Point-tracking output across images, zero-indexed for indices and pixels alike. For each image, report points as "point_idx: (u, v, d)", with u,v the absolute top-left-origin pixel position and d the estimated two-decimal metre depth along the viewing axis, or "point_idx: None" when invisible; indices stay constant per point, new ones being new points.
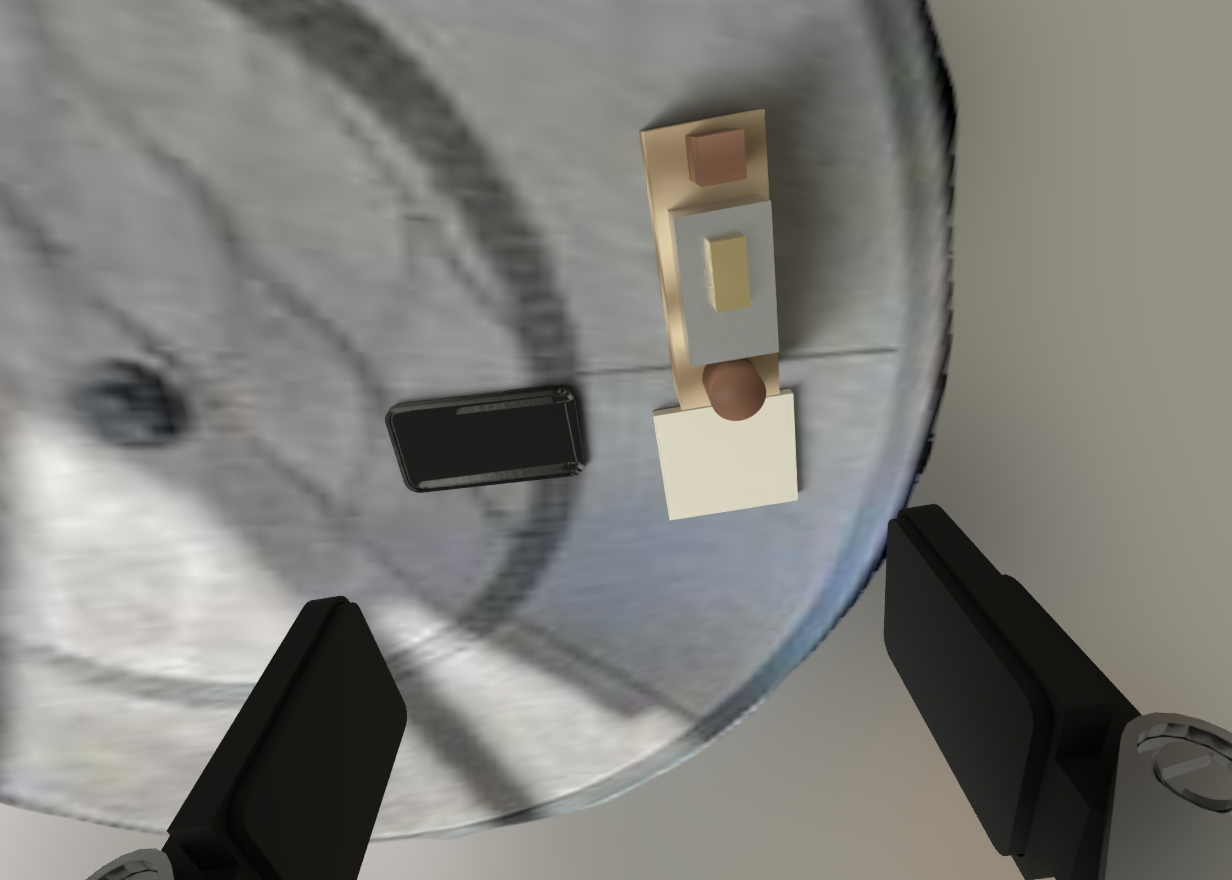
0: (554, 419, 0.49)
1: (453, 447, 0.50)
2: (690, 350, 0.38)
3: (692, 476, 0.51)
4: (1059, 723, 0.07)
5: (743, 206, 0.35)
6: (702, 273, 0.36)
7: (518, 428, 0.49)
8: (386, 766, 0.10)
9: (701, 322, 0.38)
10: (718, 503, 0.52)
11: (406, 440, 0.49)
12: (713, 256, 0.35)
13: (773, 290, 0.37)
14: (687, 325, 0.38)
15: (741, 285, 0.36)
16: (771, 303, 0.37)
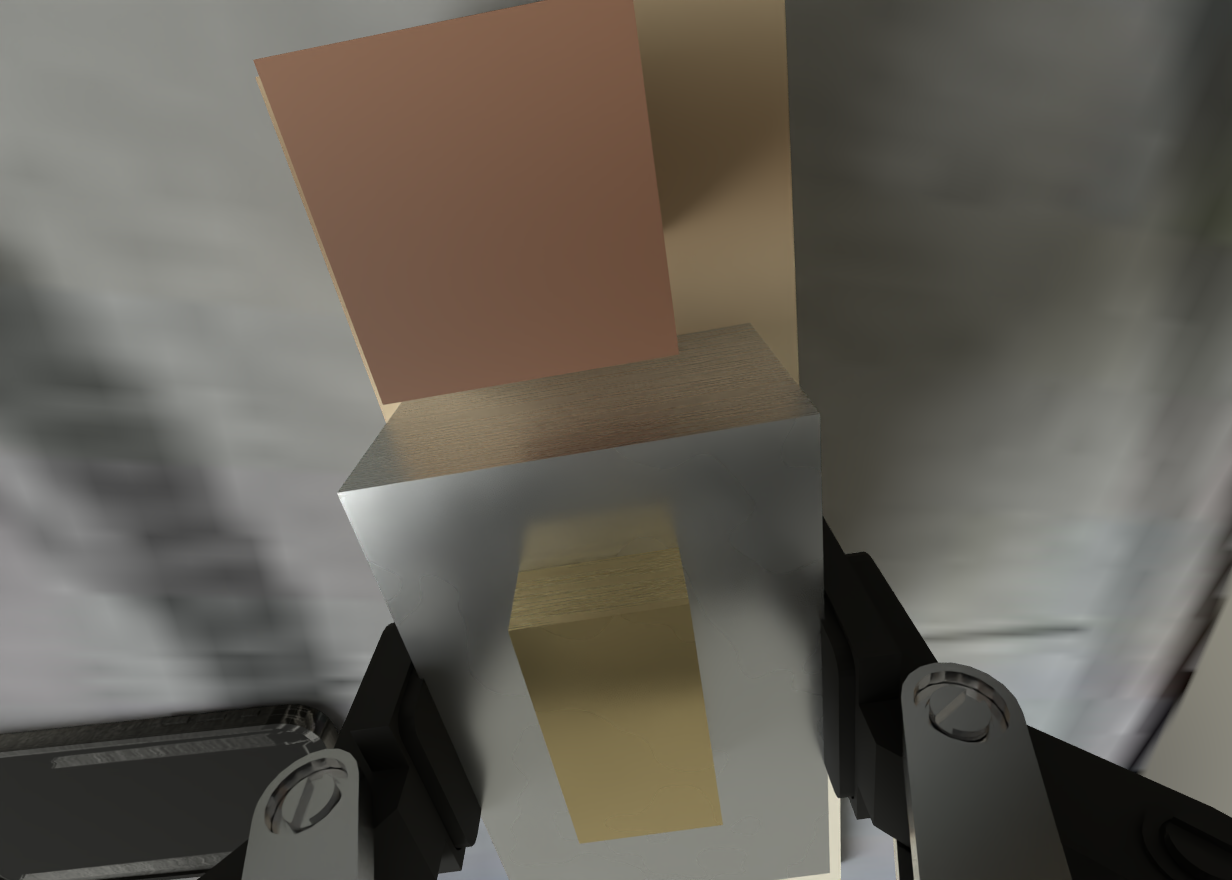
0: None
1: (71, 821, 0.22)
2: (512, 875, 0.11)
3: None
4: (858, 673, 0.08)
5: (680, 441, 0.07)
6: (517, 682, 0.08)
7: (209, 788, 0.22)
8: None
9: (538, 813, 0.10)
10: None
11: None
12: (535, 679, 0.07)
13: (817, 724, 0.09)
14: (487, 820, 0.10)
15: (679, 768, 0.08)
16: (807, 759, 0.09)
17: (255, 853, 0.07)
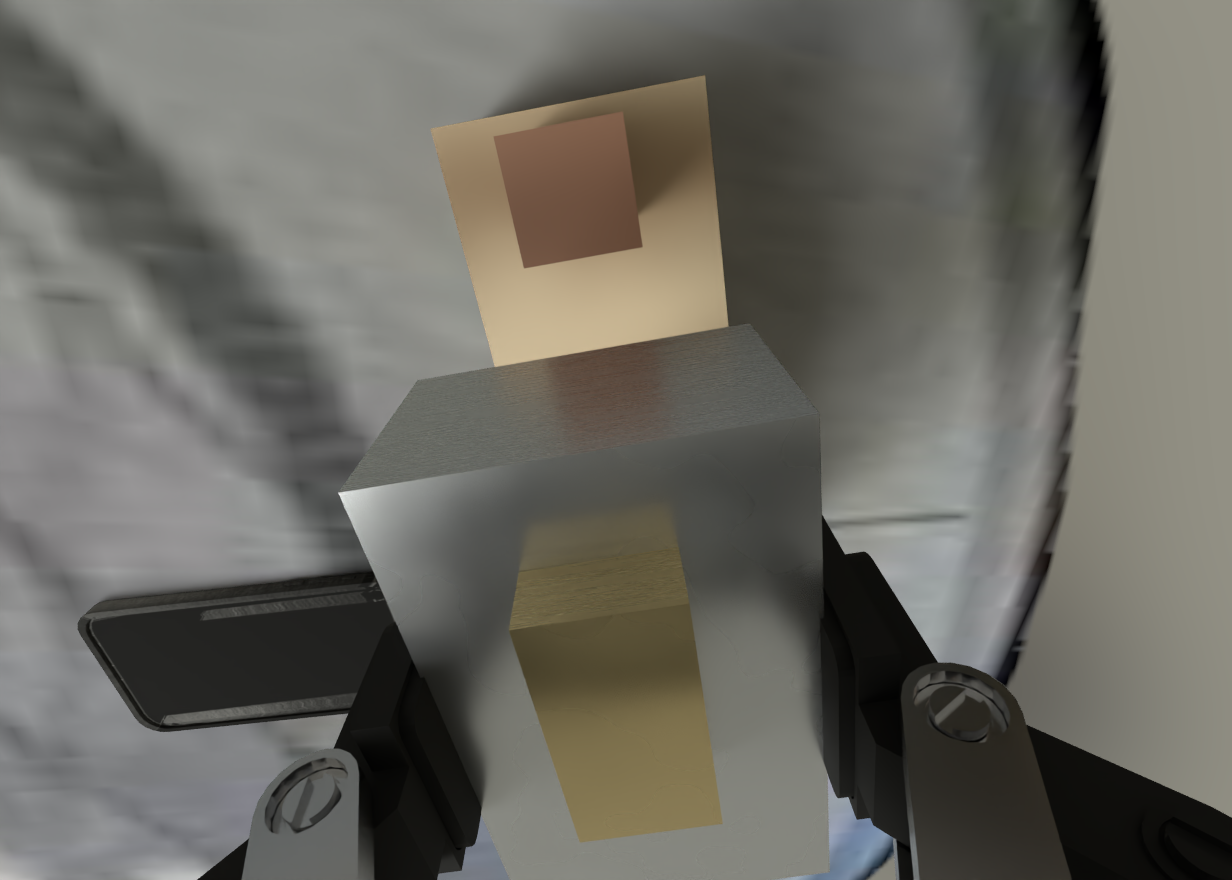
0: (373, 625, 0.28)
1: (207, 667, 0.29)
2: (512, 874, 0.11)
3: None
4: (858, 672, 0.08)
5: (680, 441, 0.07)
6: (517, 681, 0.09)
7: (314, 639, 0.29)
8: None
9: (539, 812, 0.10)
10: None
11: (125, 658, 0.29)
12: (535, 678, 0.07)
13: (816, 724, 0.09)
14: (487, 819, 0.10)
15: (679, 767, 0.08)
16: (807, 758, 0.09)
17: (255, 853, 0.07)
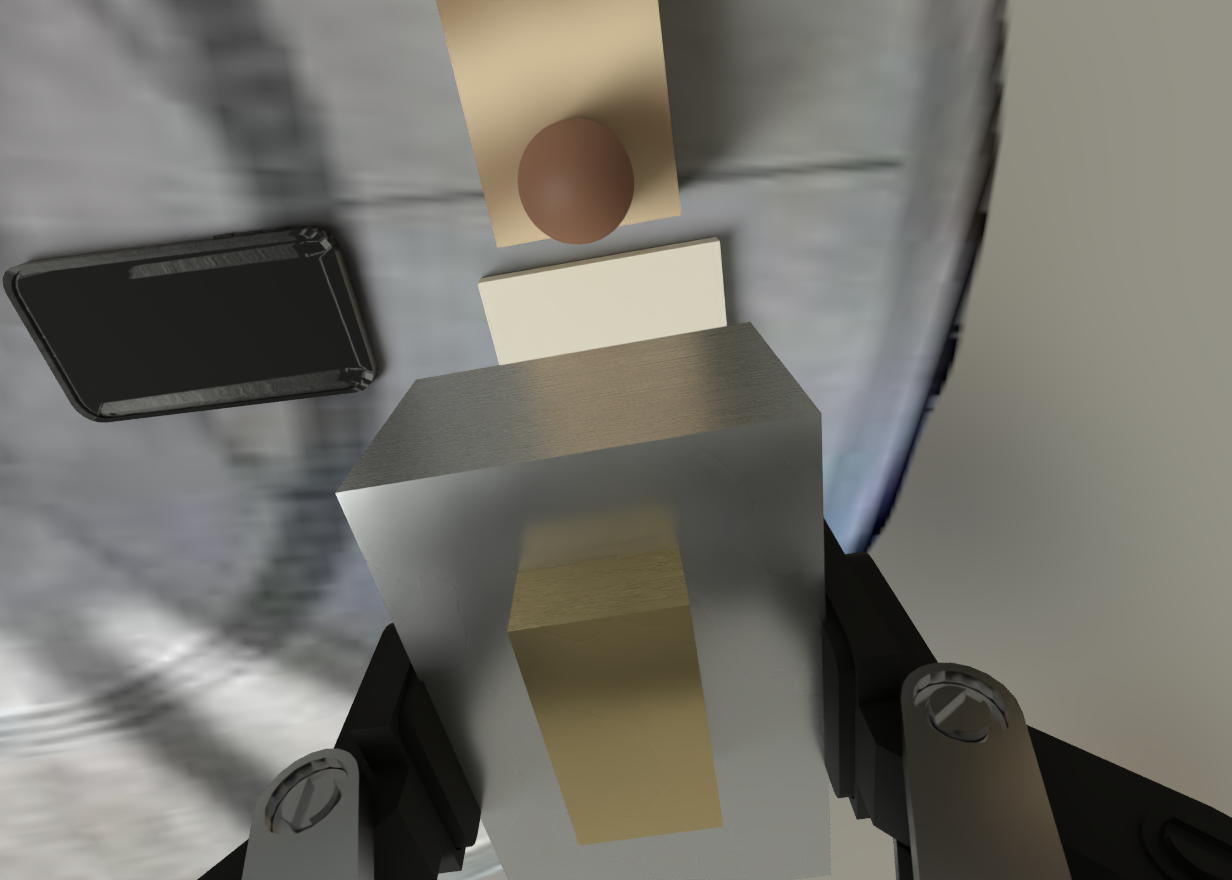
0: (307, 288, 0.28)
1: (141, 341, 0.29)
2: (511, 877, 0.11)
3: None
4: (858, 672, 0.08)
5: (680, 440, 0.07)
6: (516, 683, 0.08)
7: (247, 305, 0.28)
8: None
9: (539, 815, 0.10)
10: None
11: (55, 328, 0.29)
12: (534, 680, 0.07)
13: (818, 726, 0.09)
14: (486, 822, 0.10)
15: (679, 769, 0.08)
16: (808, 760, 0.09)
17: (255, 853, 0.07)
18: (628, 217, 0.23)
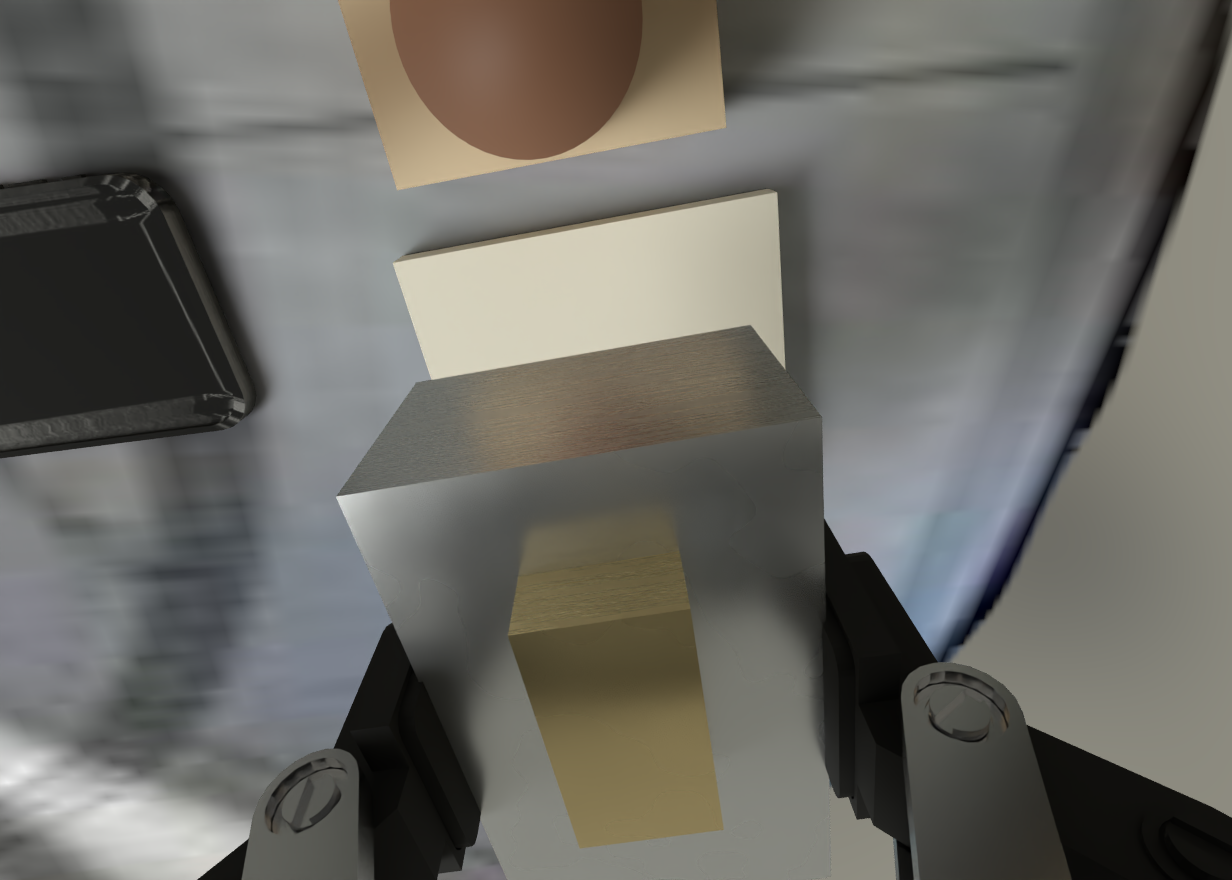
0: (127, 271, 0.18)
1: None
2: (512, 879, 0.11)
3: None
4: (858, 673, 0.08)
5: (680, 444, 0.07)
6: (517, 686, 0.08)
7: (38, 300, 0.18)
8: None
9: (538, 818, 0.10)
10: None
11: None
12: (535, 683, 0.07)
13: (818, 728, 0.09)
14: (486, 824, 0.10)
15: (680, 772, 0.08)
16: (808, 763, 0.09)
17: (255, 853, 0.07)
18: (630, 132, 0.13)
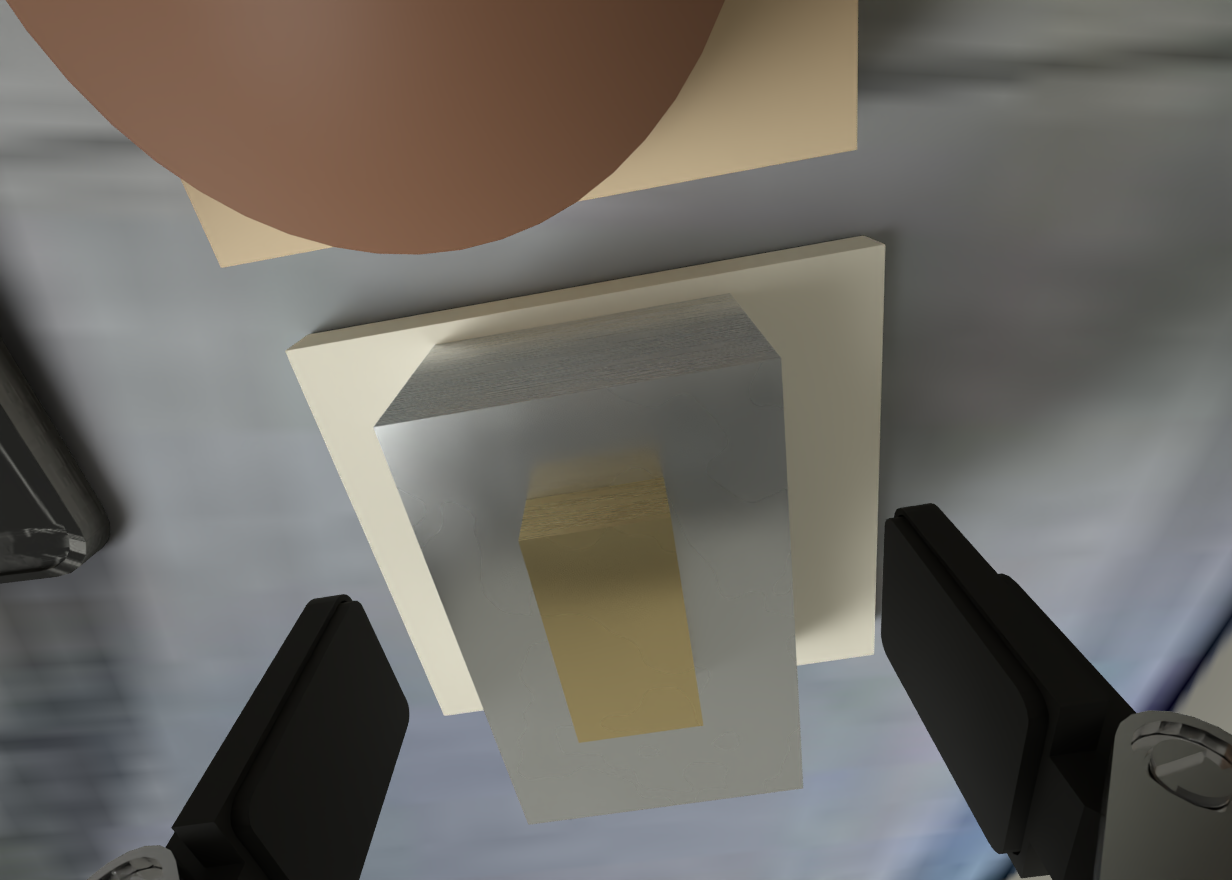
0: None
1: None
2: (518, 789, 0.12)
3: None
4: (1054, 721, 0.07)
5: (663, 382, 0.08)
6: (524, 601, 0.10)
7: None
8: (388, 764, 0.11)
9: (542, 727, 0.11)
10: None
11: None
12: (540, 585, 0.08)
13: (787, 643, 0.10)
14: (496, 734, 0.11)
15: (664, 670, 0.09)
16: (779, 676, 0.11)
17: None
18: (669, 159, 0.06)
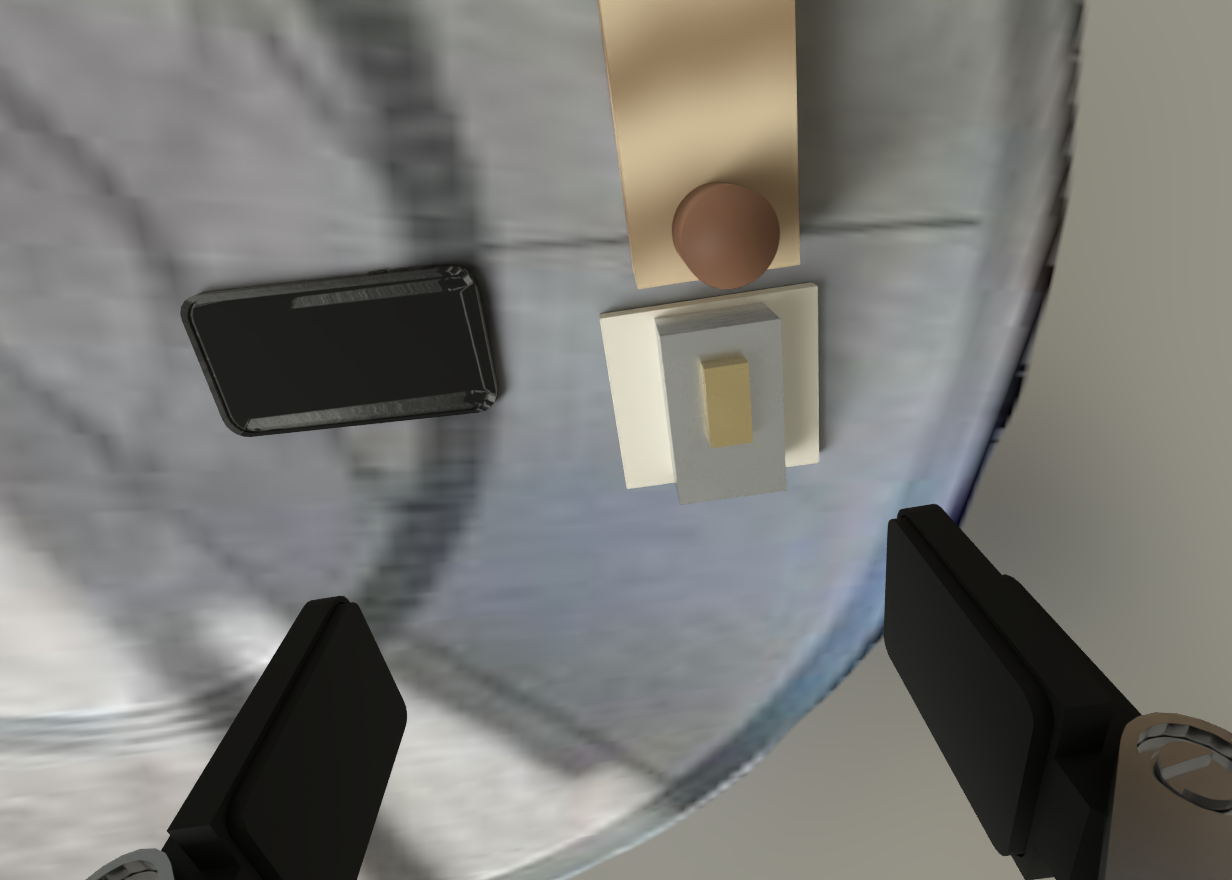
0: (446, 318, 0.32)
1: (292, 363, 0.32)
2: (678, 486, 0.31)
3: (660, 419, 0.34)
4: (1059, 723, 0.07)
5: (746, 325, 0.28)
6: (694, 400, 0.29)
7: (391, 333, 0.32)
8: (386, 766, 0.10)
9: (692, 455, 0.31)
10: None
11: (219, 351, 0.32)
12: (708, 384, 0.28)
13: (781, 421, 0.30)
14: (675, 458, 0.31)
15: (742, 418, 0.29)
16: (778, 435, 0.30)
17: None
18: None
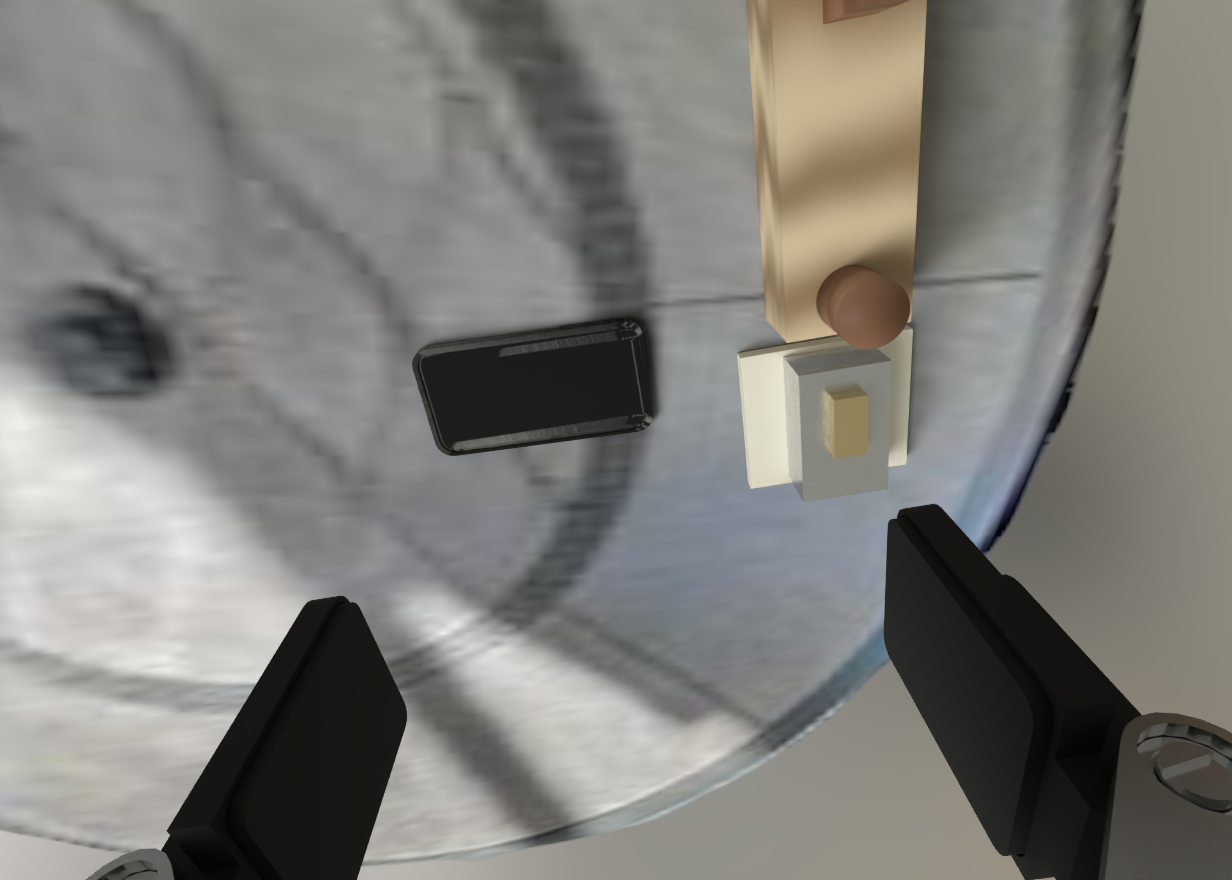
0: (618, 360, 0.40)
1: (494, 398, 0.41)
2: (803, 487, 0.40)
3: (782, 434, 0.42)
4: (1059, 723, 0.07)
5: (865, 365, 0.36)
6: (821, 422, 0.38)
7: (574, 373, 0.40)
8: (386, 766, 0.10)
9: (816, 464, 0.39)
10: None
11: (438, 390, 0.41)
12: (836, 412, 0.37)
13: (887, 436, 0.39)
14: (802, 466, 0.40)
15: (860, 436, 0.37)
16: (884, 447, 0.39)
17: None
18: None
